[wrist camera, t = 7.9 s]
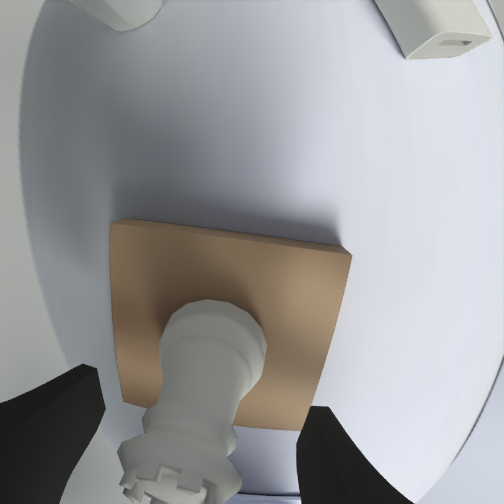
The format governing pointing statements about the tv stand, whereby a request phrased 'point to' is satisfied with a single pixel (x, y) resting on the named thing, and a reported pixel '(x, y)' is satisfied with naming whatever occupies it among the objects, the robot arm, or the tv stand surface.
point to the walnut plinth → (235, 292)
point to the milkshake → (121, 12)
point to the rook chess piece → (195, 407)
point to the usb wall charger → (435, 27)
